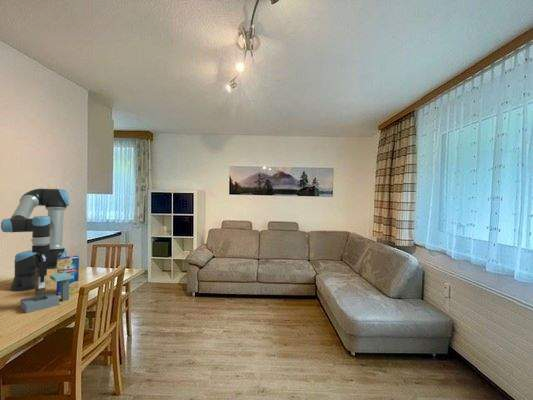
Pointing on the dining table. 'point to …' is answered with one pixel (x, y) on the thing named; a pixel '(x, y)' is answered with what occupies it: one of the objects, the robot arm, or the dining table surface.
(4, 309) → the dining table surface
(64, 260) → the beverage box
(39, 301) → the socket block
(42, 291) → the walnut peg
